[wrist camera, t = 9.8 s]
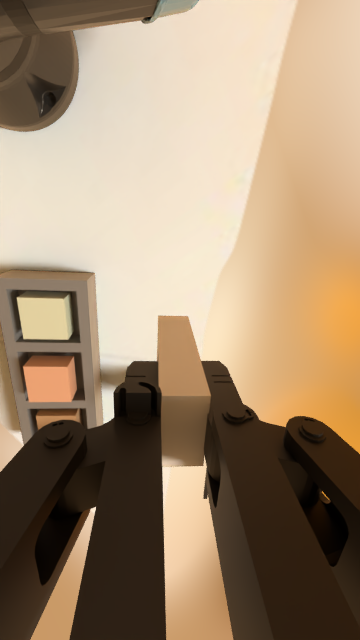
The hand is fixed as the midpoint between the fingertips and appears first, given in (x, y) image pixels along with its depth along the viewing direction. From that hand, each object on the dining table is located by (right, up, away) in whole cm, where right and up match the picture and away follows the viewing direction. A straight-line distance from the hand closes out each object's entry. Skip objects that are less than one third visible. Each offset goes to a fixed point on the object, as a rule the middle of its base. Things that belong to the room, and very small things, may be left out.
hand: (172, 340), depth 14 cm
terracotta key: (-19, -7, +29) cm, 35 cm away
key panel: (-19, -6, +32) cm, 38 cm away
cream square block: (-18, +2, +27) cm, 32 cm away
